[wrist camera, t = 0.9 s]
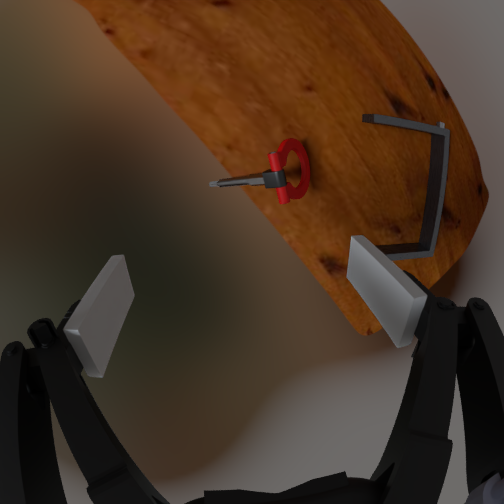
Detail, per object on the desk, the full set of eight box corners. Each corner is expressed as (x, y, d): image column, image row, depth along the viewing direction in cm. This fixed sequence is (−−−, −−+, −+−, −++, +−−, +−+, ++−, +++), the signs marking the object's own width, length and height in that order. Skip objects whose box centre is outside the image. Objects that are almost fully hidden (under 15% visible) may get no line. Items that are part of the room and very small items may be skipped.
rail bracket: (362, 106, 29) (374, 105, 27) (441, 122, 31) (454, 124, 28) (351, 260, 38) (360, 270, 35) (425, 253, 39) (435, 261, 37)
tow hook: (316, 187, 33) (288, 211, 28) (249, 190, 39) (215, 211, 34) (305, 133, 30) (273, 146, 25) (236, 144, 36) (198, 159, 31)
